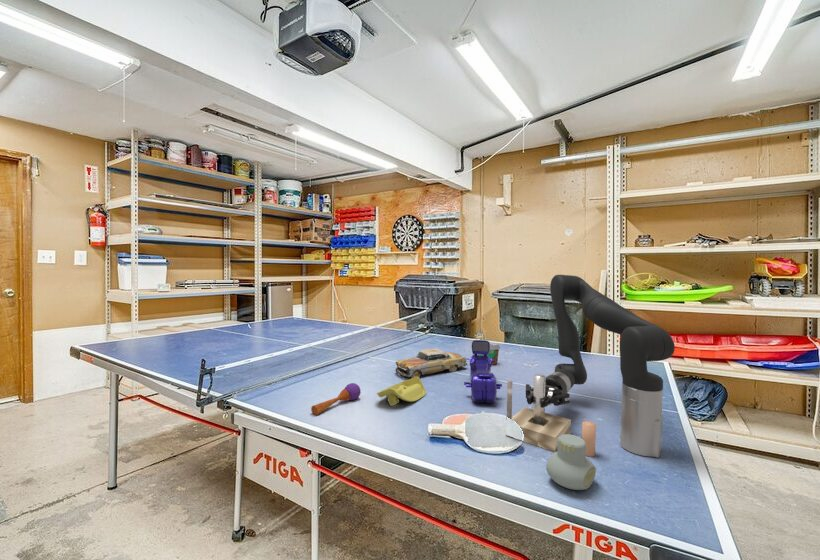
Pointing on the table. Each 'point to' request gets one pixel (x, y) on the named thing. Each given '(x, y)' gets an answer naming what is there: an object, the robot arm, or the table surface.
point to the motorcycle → (482, 374)
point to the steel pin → (538, 399)
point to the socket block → (534, 432)
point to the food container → (493, 353)
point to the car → (429, 363)
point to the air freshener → (571, 464)
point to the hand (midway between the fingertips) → (535, 402)
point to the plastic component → (404, 391)
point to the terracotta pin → (589, 437)
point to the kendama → (338, 398)
